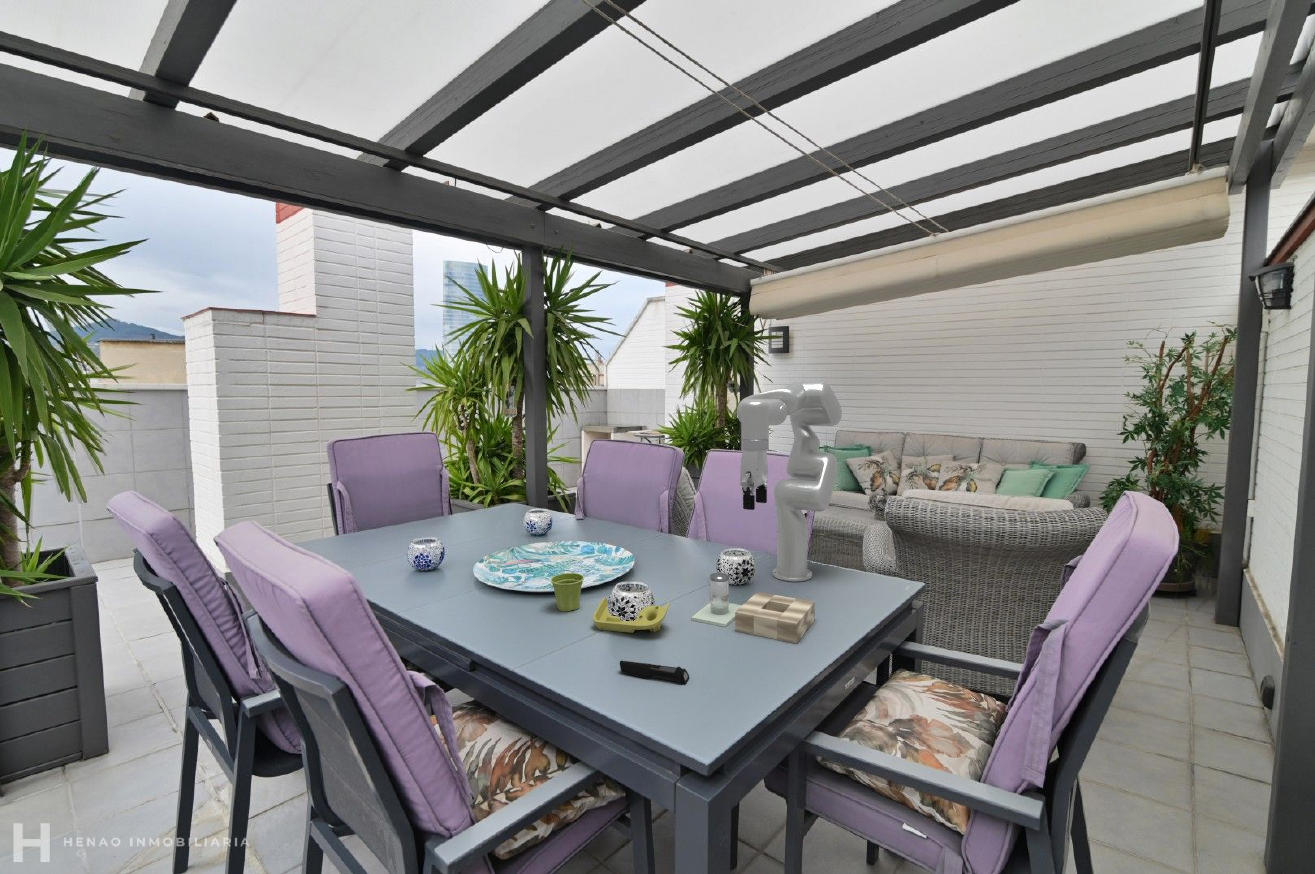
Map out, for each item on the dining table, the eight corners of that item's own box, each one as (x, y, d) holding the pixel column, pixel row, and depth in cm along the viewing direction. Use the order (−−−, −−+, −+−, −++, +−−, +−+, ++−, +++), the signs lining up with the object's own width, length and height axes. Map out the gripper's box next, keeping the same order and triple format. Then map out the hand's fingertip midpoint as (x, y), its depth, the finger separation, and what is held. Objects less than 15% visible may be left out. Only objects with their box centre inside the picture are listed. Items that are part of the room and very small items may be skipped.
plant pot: (578, 615, 165) (577, 584, 165) (546, 613, 167) (545, 582, 167) (589, 602, 175) (588, 573, 174) (558, 600, 176) (557, 572, 176)
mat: (713, 602, 173) (713, 600, 173) (745, 608, 168) (745, 605, 168) (691, 620, 161) (691, 617, 160) (725, 627, 156) (725, 624, 156)
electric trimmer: (623, 669, 135) (623, 656, 135) (690, 678, 130) (689, 664, 130) (617, 677, 132) (616, 663, 131) (685, 687, 127) (684, 672, 126)
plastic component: (590, 621, 156) (605, 593, 163) (598, 641, 159) (613, 612, 167) (659, 627, 147) (672, 597, 155) (666, 648, 150) (679, 618, 158)
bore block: (757, 609, 167) (757, 591, 167) (814, 619, 159) (814, 601, 159) (735, 630, 153) (735, 611, 153) (796, 643, 145) (796, 623, 145)
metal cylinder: (714, 606, 167) (713, 571, 166) (731, 608, 165) (731, 574, 164) (707, 613, 163) (707, 577, 162) (725, 616, 161) (724, 580, 160)
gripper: (753, 441, 176) (753, 499, 178) (730, 448, 161) (730, 510, 163) (778, 442, 173) (778, 501, 174) (756, 449, 158) (757, 513, 159)
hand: (755, 505), depth 169 cm, fingers open, 9 cm apart
